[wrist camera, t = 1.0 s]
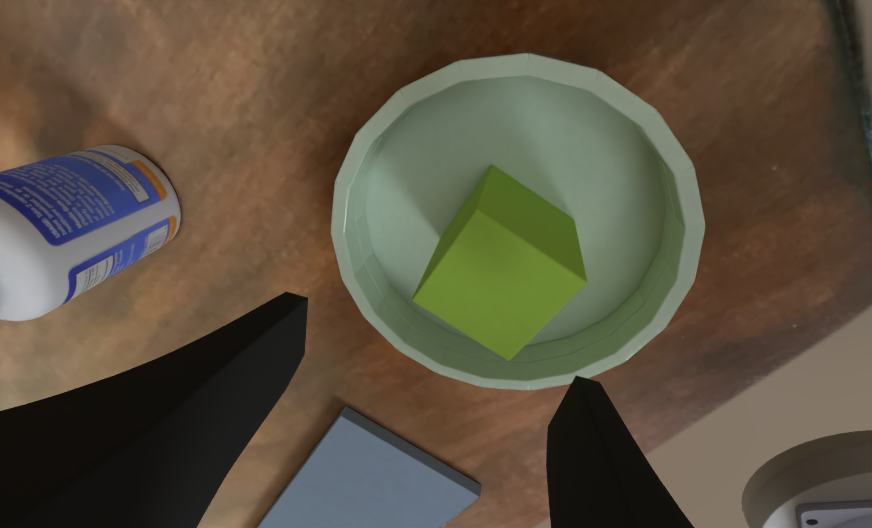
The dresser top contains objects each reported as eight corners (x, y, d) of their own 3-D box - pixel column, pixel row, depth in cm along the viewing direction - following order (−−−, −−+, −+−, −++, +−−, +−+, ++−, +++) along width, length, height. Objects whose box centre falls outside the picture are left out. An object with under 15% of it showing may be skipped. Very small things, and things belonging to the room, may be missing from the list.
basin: (703, 311, 18) (731, 357, 16) (430, 367, 23) (417, 410, 20) (632, -23, 13) (655, -37, 11) (306, 135, 18) (268, 152, 15)
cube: (575, 219, 17) (588, 282, 12) (515, 287, 19) (509, 362, 14) (492, 163, 16) (476, 208, 12) (439, 238, 18) (410, 301, 14)
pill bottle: (71, 140, 21) (-245, 212, 12) (166, 144, 20) (-107, 225, 11) (112, 240, 23) (-125, 356, 15) (198, 248, 22) (-4, 377, 14)
